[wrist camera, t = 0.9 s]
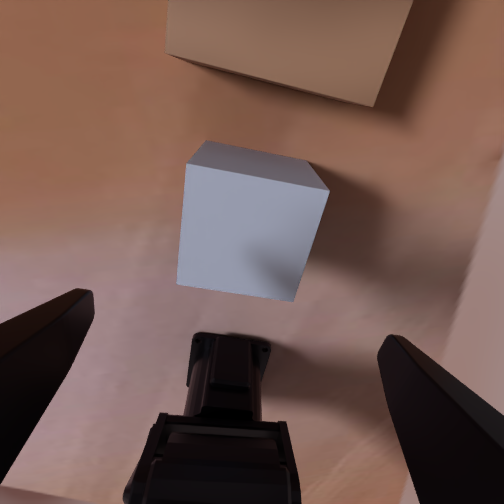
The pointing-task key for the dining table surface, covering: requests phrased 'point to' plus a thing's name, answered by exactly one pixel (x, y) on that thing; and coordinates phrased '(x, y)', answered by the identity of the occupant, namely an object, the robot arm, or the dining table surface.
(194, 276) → the slate cube
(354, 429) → the dining table surface
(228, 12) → the tan flat square block
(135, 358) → the dining table surface
